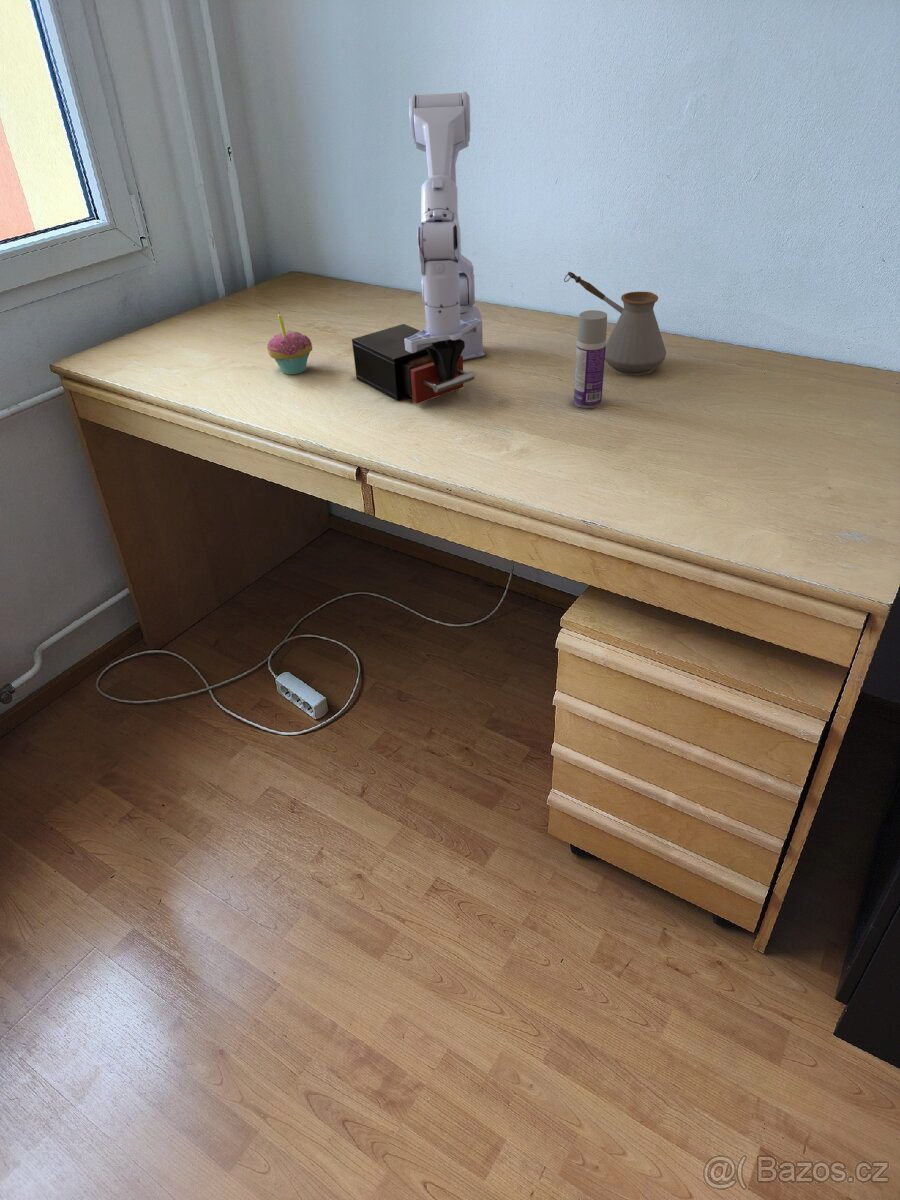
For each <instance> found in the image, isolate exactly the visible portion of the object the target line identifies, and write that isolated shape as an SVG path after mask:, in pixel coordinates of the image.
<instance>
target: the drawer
mask: <svg viewBox="0 0 900 1200" xmlns="http://www.w3.org/2000/svg"><path fill="white" fill-rule="evenodd" d="M425 354H429V353H425ZM425 354H422V355H425ZM422 355H419V356H422ZM419 356H416V357H419ZM416 357H413V358H416ZM410 359H412V358H410ZM407 360H409V359H407ZM407 360H404V361H400V362H398V370H399V382H400V391H401V392H403V393H405V394H407V395H409V396H410V397H411V398H412V403H414V404H416V405H417V404H421V403H423V402H426V401H429V400H431V399H432V400H433V399H435V398H439V397H441V396H443V395H446V394H450V393H451V392H454V391H457V390H460V389H463V388H465V383H469V382H471V381H474V380H475V378H476V377H475V373H474V372H473V371H468V372H467V371H465V370H464V360H463V356H462V355H460V357H459V360H458V362H457V366H456V369H455V374H454V378H451V379H448V380H446V381H443V382H440V381H439V377H438V374H437V371H436V368H435V365H434V363H433V362H432V363H429V364H426V365H423V366H420V367H417V368H414V369H413V366H411V365H409V364H407V363H405V362H406V361H407Z"/></svg>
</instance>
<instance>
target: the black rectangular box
mask: <svg viewBox="0 0 900 1200" xmlns="http://www.w3.org/2000/svg"><path fill="white" fill-rule="evenodd" d="M420 331H421V330H419V329H417V328H415V327H412V326H410V325H407V324H405V323H402V324H399V325H395V326H391V327H388V328H384V329H382V330H381V329H380V330H378V331H374V332H371V333H368V334H365V335H361V336H358V337H355V338H351V343H352V352H353V360H354V368H355V375H356V376H355V377H356V380H358V381H360V382H361V383H363V384H365V385H367V386H369V387H370V388H373V389H374V390H377V391H378V392H380V393H382V394H384V395H385V396H388V397H390V398H392V399H393V400H395V401H401V400H404V399H407V398H410V397H411V396H409V395H407V394H405V393H403V392H401V391H400V382H399V370H398V362H400V361H404V360H407V359H410V358H413V357H416V356H419V355H422V354H425V353H428V352H427V350H426V349H425V348H422V349H419V350H417V352H415V353H410V352H408V351H406V350H405V341H404V339H405V338H408V337H411V336H413V335H415V334H416V333H418V332H420Z"/></svg>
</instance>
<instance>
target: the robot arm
mask: <svg viewBox="0 0 900 1200" xmlns="http://www.w3.org/2000/svg"><path fill="white" fill-rule="evenodd" d="M470 100H471V98H470V94H468V91H462V92H453V93H451V92H450V93H430V94H416V93H412V94H411V96H410V97H409V100H408V117H409V129H410V135H411V136H412V140H413V143H414V145H415V148H416V149H417V150H419V151H422V152H424V153H425V154H426V162H427V163H426V164H427V173H428V174H427V175H428V178H426V179H425V181H423V183H422V185H421V188H420V226H419V225H418V226H417V230H416V231H417V232H416V242H417V243H416V244H417V254H418V259H419V263H420V273H421V300H422V301H421V302H422V305H423V307H424V314H425V328H423V329H421V330H420V332H418V333H416V334H415V335H413V336H411V337H408V338H405V339H404V341H405V350H406V351H408V352H410V353H415V352H417V350H419V349H422V348H425V349H426V350H427V352H428V353H429V355H430V357H431V359H432V361H433V363H434V365H435V368H436V371H437V374H438V377H439V381H440V382H443V381H446V380H448V379H451V378H454V374H455V369H456V366H457V362H458V360H459V357H460V355H462V356H463V361H467V360H470V359H475V358H476V359H477V358H480V357H484V356H485V352H484V342H483V340H484V336H483V318H482V314H481V310H480V309H479V308H478V306H477V305H476V292H475V291H476V288H475V287H476V285H475V274H474V273H475V272H474V271H475V270H474V265H473V262H472V261H471V260H470V259H468V258H467V257H465V256H464V254H462V242H461V241H462V239H461V226H460V222H459V214H458V210H459V209H458V207H459V205H458V203H459V202H458V186H457V167H456V165H457V161H458V156H459V153H460V152H461V151H462V150H464V149H466V148H468V147H469V146H470V145H469V143H470V141H471V101H470Z"/></svg>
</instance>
